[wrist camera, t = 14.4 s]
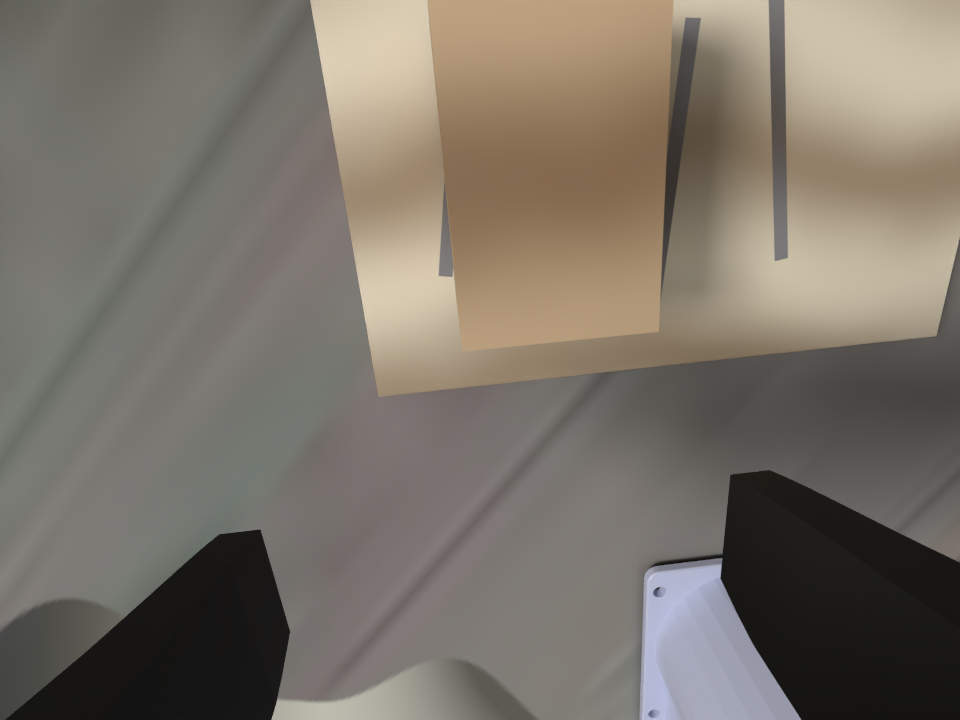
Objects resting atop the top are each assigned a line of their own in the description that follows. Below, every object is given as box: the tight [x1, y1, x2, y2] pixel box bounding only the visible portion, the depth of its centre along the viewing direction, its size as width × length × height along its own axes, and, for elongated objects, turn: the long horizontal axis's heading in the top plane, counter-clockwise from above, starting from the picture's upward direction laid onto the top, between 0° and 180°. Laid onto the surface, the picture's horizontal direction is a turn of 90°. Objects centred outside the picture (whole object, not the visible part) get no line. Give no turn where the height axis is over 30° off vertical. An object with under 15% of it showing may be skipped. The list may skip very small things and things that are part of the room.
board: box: [310, 0, 960, 397], centre depth 15 cm, size 12×18×1 cm, turn 95°
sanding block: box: [428, 0, 673, 352], centre depth 13 cm, size 7×4×4 cm, turn 4°
